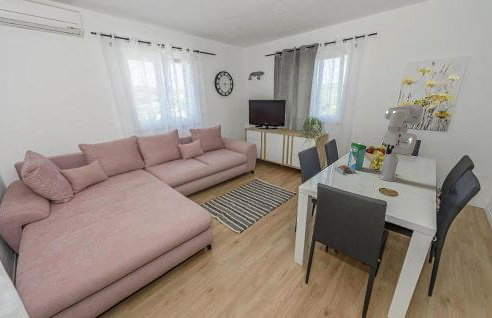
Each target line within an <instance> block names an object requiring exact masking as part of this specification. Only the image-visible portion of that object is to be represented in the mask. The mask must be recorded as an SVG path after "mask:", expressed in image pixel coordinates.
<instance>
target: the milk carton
mask: <svg viewBox="0 0 492 318" xmlns="http://www.w3.org/2000/svg"><path fill="white" fill-rule="evenodd" d="M367 147H368V146H367V145H364V143H362V142H358V143H357V142H351V146H350V151H349V155H348V160H347V166H349V167H351V168H353V169H355V171H357V170H358V171H359V170H363V165H364V161H365V155H366V152H367Z"/></svg>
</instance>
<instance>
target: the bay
mask: <svg viewBox="0 0 492 318" xmlns="http://www.w3.org/2000/svg"><path fill="white" fill-rule="evenodd" d="M347 166H348V165H347ZM339 167H340V166H335V169H334V171H335V172H337V173H339V174H340V175H344V174H345V173H344V171H343V170H342V169H340V168H339ZM348 167H349V166H348ZM349 173H352V174H355V173H356V170H355V169H353V168H351V167H350V169H349Z"/></svg>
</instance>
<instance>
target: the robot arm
mask: <svg viewBox="0 0 492 318" xmlns="http://www.w3.org/2000/svg"><path fill="white" fill-rule="evenodd" d="M423 113H424V107H423V106H422V105H421V104H404V105H401V106H396V107H389V108H388V109H387V110H386V111H385V113H384V118H385V120H388V122H389V123H388V127H387V129H386V131H385V134H384V135H383V140H382V144H383V145H384V146H385V154H384V159H383V162H382V167H381V170H380V174H378V175H377V178H378V179H380V180H381V181H382V180H383V181H385V182H395V181H396V180H397V178H396V177H398V176H399V173H396V172H397V168H398V164H399V157H398V155H399V156H403V157H410V156H412V154H413V152H414V150H415V146H416V144H417V141H418V136H417V134H415V133H411V132H410V133H409V132H408V131H409V129H408V127H407V126H406V124H408V125H419V124H420V123H421V122H422V119H423Z"/></svg>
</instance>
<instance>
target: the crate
mask: <svg viewBox="0 0 492 318" xmlns="http://www.w3.org/2000/svg"><path fill="white" fill-rule="evenodd" d="M338 167H339V168H340V169H342V170H343V171H344V174H346V173H350V171H349V169H350V167H348V165H346V164H342V165H339V166H338Z"/></svg>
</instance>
